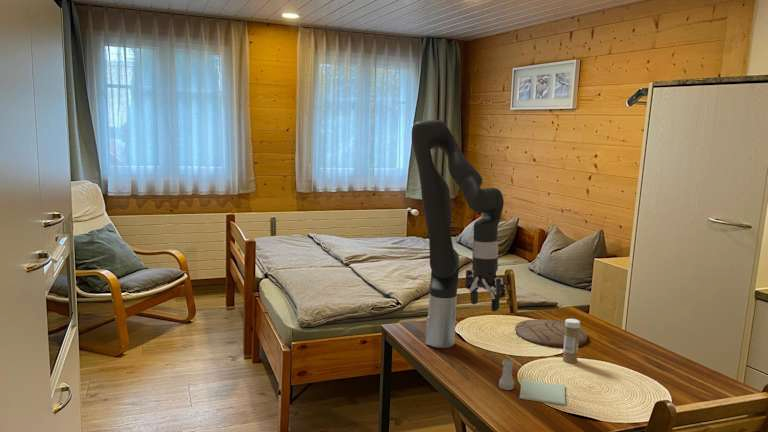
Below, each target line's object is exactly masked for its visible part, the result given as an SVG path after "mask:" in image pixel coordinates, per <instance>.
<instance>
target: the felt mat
mask: <svg viewBox="0 0 768 432" xmlns="http://www.w3.org/2000/svg"><path fill="white" fill-rule="evenodd" d="M565 388H566V387H565V385H564V384H557V383H551V382H546V381H538V380H531V379H524V378H521V382H520V391H519V400H520V399H522V400H527V401H536V402H541V403H548V404H554V405H560V406H566V390H565Z"/></svg>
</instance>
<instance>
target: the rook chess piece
mask: <svg viewBox="0 0 768 432" xmlns="http://www.w3.org/2000/svg"><path fill="white" fill-rule="evenodd" d="M501 364H502V366H503V367H502V373H501V374H502V375H501V377H500V379H499V381H498V387H499V388H500V389H501V390H504V391H511V390H513V389H515V382H514V379H513V373H512V372H513V369H514V368H512V367H513V366H514V364H515V363H514V362H513V360H512V359H511V358H504V359H503V361H502V363H501Z"/></svg>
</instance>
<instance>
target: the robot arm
mask: <svg viewBox="0 0 768 432" xmlns="http://www.w3.org/2000/svg"><path fill="white" fill-rule="evenodd" d="M411 141H412V147H413V152H414V157H415V160H416V164H417V171H418V178H419V182H420V183H419V184H420V192H421V202H422V208H423V214H424V220H425V224H426V229H427V234H428V241H429V243H428V244H429V245H428V246H429V266H430V281H429V282H430V283H429V288H428V290H429V292H428V294H429V295H428V312H427V314H428V315H427V317H426V327H425V328H426V329H425V330H426V331H425V345H427V346H431V347H433V348H436V349H437V348H438V349H447V348H451V347H453V346H455V340H456V339H455V334H456V320H457V319H456V318H457V317H456V316H457V315H456V314H457V299H458V298H457V295H458V285H459V273H460V256H459V254H458V252H457V250H456V249H454V245H453V239H452V231H451V230H452V200H451V194H450V188H449V185H448V184H447V182H446V180H445V179H444V178H443V176H442V174H441V173H440V172H439V171H438V169H437V167H436V166H435V163H434V161H433V156H432V150H433V149H438V148H439V149H440V150H441V151H442V152H443V153H444V154H445V155H446V157H447V165H448V166H447V167H448V172H449V175H450V177H451V178H452V179H453V180H454V182H455V183H456V184H457V185H458V187H459V188H460V189H461V191H462V193H463V196H464V199H465V201H466V204H467V206H468V207H469V209H471V210H472V211H473V212H475V213H477V214H483V215H482V217H481V218H480V219H478V220H476V221H475V222H474V223H473V242H472V267H471V269H467V270H466V271H465V289H466V290H469V293H470V304H472V305H476V304H478V301H479V300H478V299H479V298H478V297H479V292H478V290H479V289H480V288H482V289H484V290H486V291H487V293H488V294H490V296H491V311H492V312H497V311H499V309H500V299H504V298H506V279H505V277H497V271H498V270H499V269H498V268H499V244H498V231H499V229H498V227H499V223H500V222H501V221H500V220H501V217H502V213H503V209H504V206H505V205H504V203H505V202H504V201H505V199H504V196H503V193H502V192H501V190H500V189H499V188H498V187H497V188H496V187H486V188H485V187H484V188H481V186H482V184H483V178H482V175H481V174H480V173H479V172H478V171H477V169H476V168H475V167H474V166H473V165H472V164H471V162H470V161H469V159H467V158H466V156H465V154H464V152H462V149H461V148H460V146H459V143H458V142H457V141H456V139H455V137H454V135H453V134H452V132H451V130H450V128H449V127H448V126H447V124H446V123H445V122H444V121H443V120H440V119H429V120H428V119H427V120H422V121H416V122H414V124H413V125H412V127H411Z"/></svg>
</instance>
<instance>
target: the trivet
mask: <svg viewBox="0 0 768 432" xmlns="http://www.w3.org/2000/svg"><path fill="white" fill-rule="evenodd" d="M515 331H516V333H515V335H516V336H517V337H518V338H520V337H521V338H520V339H522V341H526V342H528V343H530V344H531V343H532V344H535V345H539V346H544V347H549V348H556V349H557V348H559V349H561V348H562V349H563V348H564V336H565V321H564V322H563V321H559V320H554V319H553V320H551V319H541V318H540V319H534V318H533V319H526V320H522V321H519V322H518V323H516V325H515V327H514V332H515ZM587 340H588V334H587V333H586V331H585V330H584V329H582V328H581V327H580V328H579V338H578V347H579V346H583V345H584V344H586V343H587Z"/></svg>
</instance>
